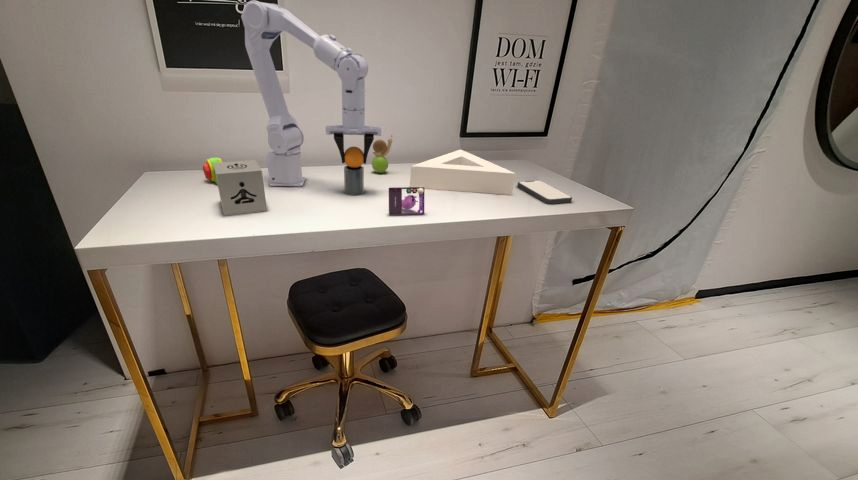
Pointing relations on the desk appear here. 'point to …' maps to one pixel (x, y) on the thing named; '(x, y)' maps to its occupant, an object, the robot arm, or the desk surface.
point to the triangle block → (462, 174)
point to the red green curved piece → (211, 169)
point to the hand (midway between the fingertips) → (353, 162)
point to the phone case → (544, 192)
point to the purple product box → (405, 200)
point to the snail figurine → (381, 155)
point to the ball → (354, 157)
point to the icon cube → (240, 187)
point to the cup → (354, 180)
